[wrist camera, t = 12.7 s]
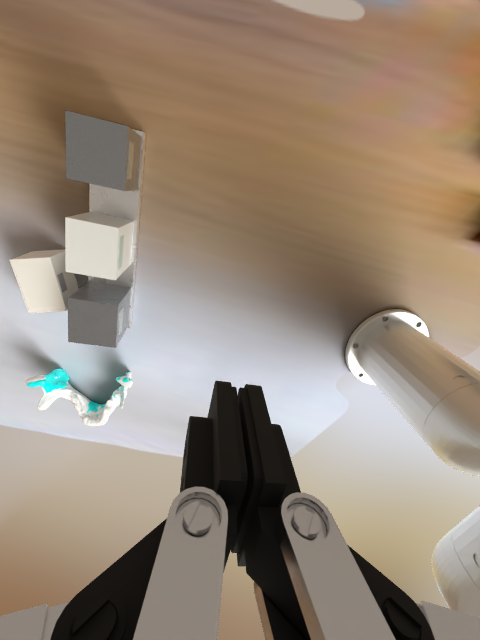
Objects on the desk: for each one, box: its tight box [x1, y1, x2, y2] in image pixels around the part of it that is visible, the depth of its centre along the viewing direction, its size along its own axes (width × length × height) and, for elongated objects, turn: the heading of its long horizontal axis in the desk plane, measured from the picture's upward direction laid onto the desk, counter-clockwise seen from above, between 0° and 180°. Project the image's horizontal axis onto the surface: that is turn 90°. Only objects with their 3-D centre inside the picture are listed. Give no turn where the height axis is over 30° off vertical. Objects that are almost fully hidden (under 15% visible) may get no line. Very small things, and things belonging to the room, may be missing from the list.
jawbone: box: [26, 368, 133, 426], centre depth 40 cm, size 12×8×9 cm, turn 86°
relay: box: [10, 249, 79, 313], centre depth 34 cm, size 4×6×4 cm
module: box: [65, 212, 134, 280], centre depth 30 cm, size 5×5×6 cm
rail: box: [65, 110, 146, 348], centre depth 31 cm, size 5×22×8 cm, turn 168°
